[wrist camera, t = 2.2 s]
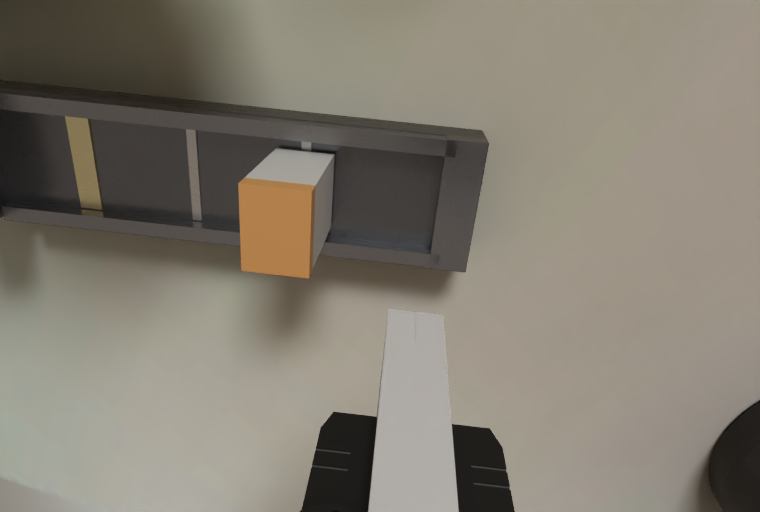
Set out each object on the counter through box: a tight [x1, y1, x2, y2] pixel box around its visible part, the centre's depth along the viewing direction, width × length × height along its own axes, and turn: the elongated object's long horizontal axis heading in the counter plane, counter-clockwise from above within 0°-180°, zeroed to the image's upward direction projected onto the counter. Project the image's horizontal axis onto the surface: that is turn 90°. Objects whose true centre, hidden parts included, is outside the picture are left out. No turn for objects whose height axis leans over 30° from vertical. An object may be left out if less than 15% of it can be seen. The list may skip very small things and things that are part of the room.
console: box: [0, 80, 489, 272], centre depth 26 cm, size 7×28×6 cm, turn 85°
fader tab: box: [238, 148, 335, 279], centre depth 24 cm, size 4×3×6 cm
